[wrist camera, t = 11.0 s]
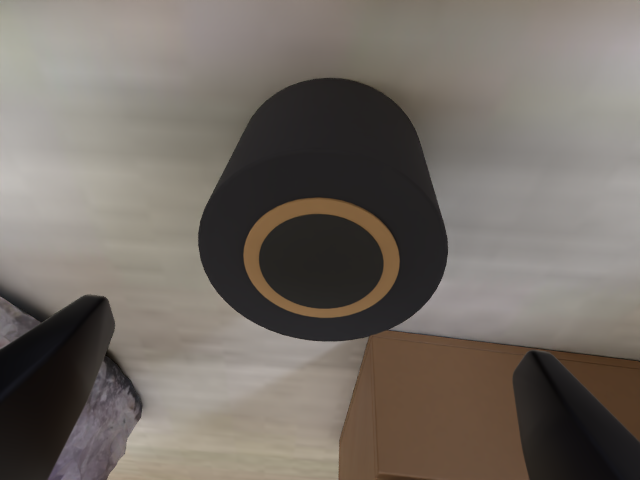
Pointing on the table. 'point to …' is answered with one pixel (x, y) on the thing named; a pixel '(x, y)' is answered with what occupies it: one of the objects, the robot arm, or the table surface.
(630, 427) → the carton
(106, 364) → the geode
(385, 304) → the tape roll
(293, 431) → the table surface
